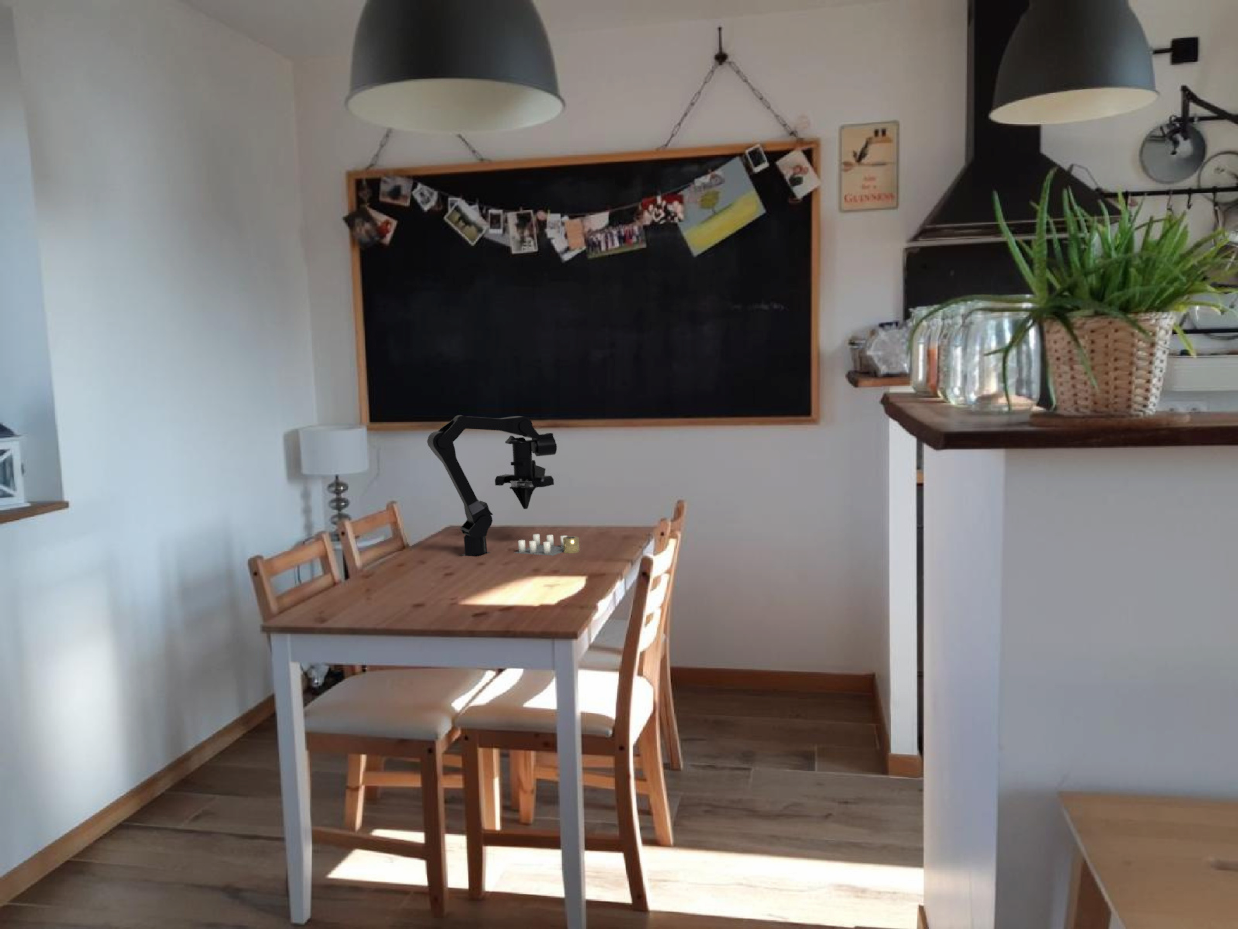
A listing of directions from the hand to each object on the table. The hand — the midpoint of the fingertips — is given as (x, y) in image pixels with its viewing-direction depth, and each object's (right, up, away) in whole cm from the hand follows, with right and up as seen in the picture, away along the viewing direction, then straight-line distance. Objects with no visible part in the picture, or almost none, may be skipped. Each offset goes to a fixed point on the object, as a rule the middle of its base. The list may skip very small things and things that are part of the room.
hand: (525, 508), depth 288 cm
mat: (+6, -12, -6) cm, 15 cm away
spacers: (+6, -12, -6) cm, 14 cm away
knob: (+15, -12, -11) cm, 22 cm away
